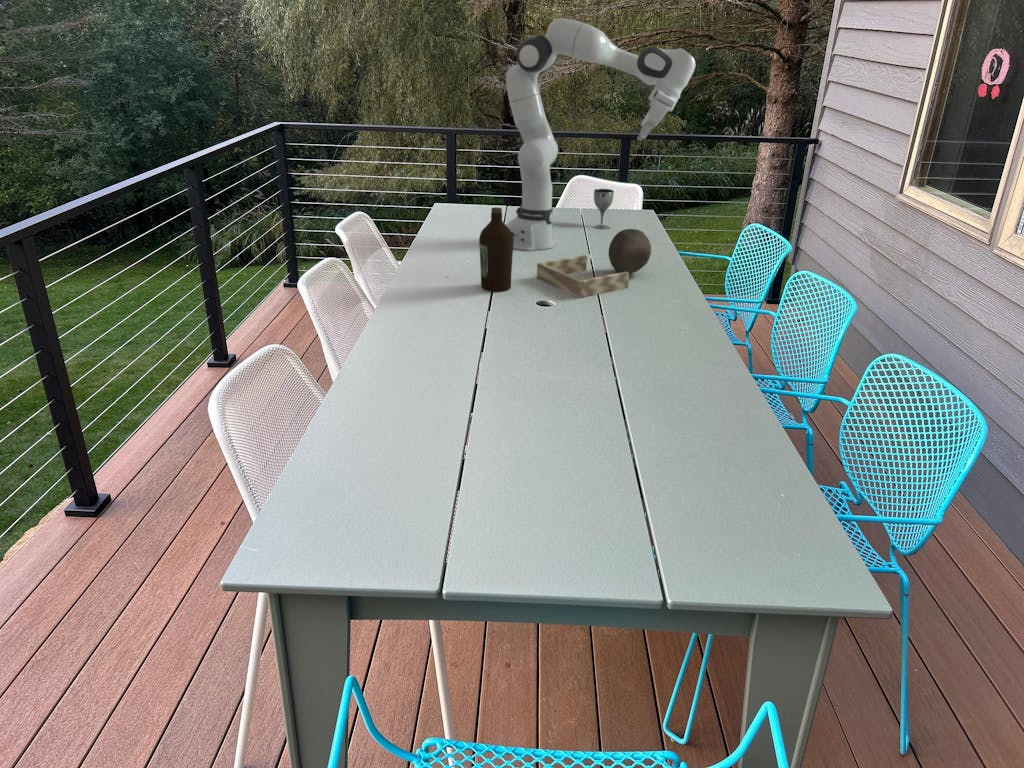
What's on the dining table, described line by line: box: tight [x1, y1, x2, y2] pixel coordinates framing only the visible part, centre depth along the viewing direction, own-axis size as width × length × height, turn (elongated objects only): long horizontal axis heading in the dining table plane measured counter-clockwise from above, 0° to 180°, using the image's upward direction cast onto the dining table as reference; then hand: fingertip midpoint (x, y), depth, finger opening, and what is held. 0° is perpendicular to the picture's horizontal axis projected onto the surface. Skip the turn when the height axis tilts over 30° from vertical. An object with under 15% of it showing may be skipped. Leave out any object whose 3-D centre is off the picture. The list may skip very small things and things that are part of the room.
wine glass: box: [592, 188, 615, 230], centre depth 313 cm, size 8×8×15 cm
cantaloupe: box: [608, 228, 652, 275], centre depth 255 cm, size 14×14×15 cm
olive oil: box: [478, 207, 514, 293], centre depth 237 cm, size 11×11×25 cm
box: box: [536, 254, 630, 299], centre depth 247 cm, size 20×23×5 cm
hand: (640, 138), depth 255 cm, fingers open, 8 cm apart
